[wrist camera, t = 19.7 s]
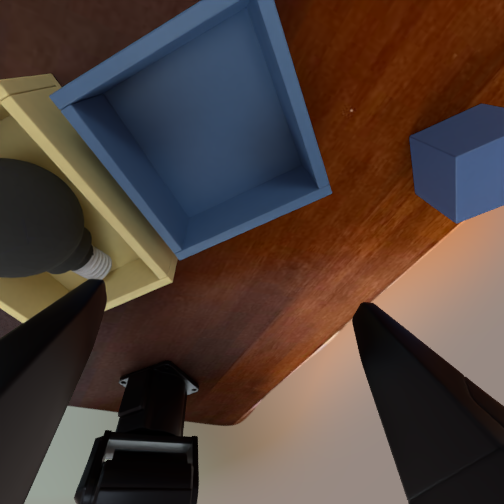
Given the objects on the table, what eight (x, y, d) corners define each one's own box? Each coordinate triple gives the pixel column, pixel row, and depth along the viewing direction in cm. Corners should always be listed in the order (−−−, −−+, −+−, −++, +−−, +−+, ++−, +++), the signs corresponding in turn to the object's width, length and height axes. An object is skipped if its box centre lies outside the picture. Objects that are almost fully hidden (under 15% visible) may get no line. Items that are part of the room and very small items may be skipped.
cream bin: (181, 244, 21) (172, 282, 18) (71, 293, 23) (44, 337, 20) (51, 73, 14) (-5, 79, 11) (-89, 163, 16) (-176, 193, 13)
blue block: (478, 167, 20) (536, 192, 16) (414, 193, 21) (456, 224, 17) (481, 102, 17) (551, 116, 14) (408, 136, 18) (455, 156, 14)
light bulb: (71, 330, 19) (-142, 266, 11) (68, 262, 23) (-93, 174, 14) (151, 283, 19) (-3, 183, 11) (135, 222, 23) (11, 112, 14)
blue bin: (311, 167, 19) (332, 193, 15) (187, 224, 20) (179, 261, 17) (251, -14, 13) (262, -39, 10) (89, 85, 15) (47, 96, 11)
